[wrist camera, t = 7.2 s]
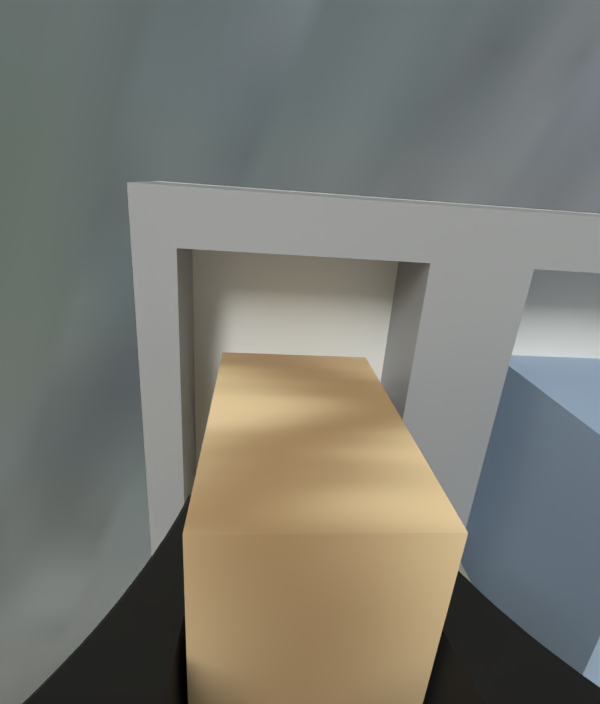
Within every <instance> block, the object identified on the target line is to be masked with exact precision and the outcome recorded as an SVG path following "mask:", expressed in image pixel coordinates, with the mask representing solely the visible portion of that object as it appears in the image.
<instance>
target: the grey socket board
mask: <svg viewBox="0 0 600 704" xmlns="http://www.w3.org/2000/svg"><path fill="white" fill-rule="evenodd" d="M127 189H128V205H129V220H130V235H131V250H132V265H133V280H134V295H135V310H136V326H137V341H138V356H139V371H140V386H141V401H142V416H143V431H144V447H145V462H146V477H147V492H148V507H149V522H150V537H151V552H152V555H153V554H154V552H155V551H156V549H157V548H158V546H159V545H160V543H161V542H162V540H163V539H164V537H165V536H166V534H167V533H168V531H169V529H170V528H171V526H172V525H173V523H174V521H175V520H176V518H177V516H178V514H179V513H180V511H181V509H182V507H183V505H184V503H185V501H186V499H187V497H188V496H189V495H190V494H191V493H192V489H193V485H194V480H195V476H196V471H197V467H198V462H199V458H200V453H201V448H202V444H203V439H204V435H205V430H206V426H207V421H208V417H209V412H210V408H211V403H212V398H213V394H214V389H215V385H216V380H217V376H218V371H219V367H220V362H221V357H222V353H223V352H230V353H257V354H285V355H313V356H341V357H366V359H367V361H368V362H369V364H370V366H371V367H372V369H373V371H374V373H375V374H376V376H377V378H378V379H379V381H380V383H381V385H382V386H383V388H384V390H385V391H386V393H387V395H388V397H389V398H390V400H391V402H392V403H393V405H394V407H395V409H396V410H397V412H398V414H399V415H400V417H401V419H402V420H403V422H404V424H405V426H406V427H407V429H408V431H409V432H410V434H411V436H412V438H413V439H414V441H415V443H416V444H417V446H418V448H419V450H420V451H421V453H422V455H423V456H424V458H425V460H426V462H427V463H428V465H429V467H430V468H431V470H432V472H433V473H434V475H435V477H436V479H437V480H438V482H439V484H440V485H441V487H442V489H443V491H444V492H445V494H446V496H447V497H448V499H449V501H450V503H451V504H452V506H453V508H454V509H455V511H456V513H457V515H458V516H459V518H460V520H461V521H462V523H463V525H464V526H465V528H466V526H467V522H468V518H469V514H470V511H471V507H472V503H473V499H474V495H475V492H476V488H477V484H478V480H479V477H480V473H481V469H482V465H483V461H484V458H485V454H486V450H487V446H488V442H489V439H490V435H491V431H492V427H493V423H494V420H495V416H496V412H497V408H498V405H499V401H500V397H501V393H502V389H503V386H504V382H505V378H506V374H507V370H508V367H509V363H510V359H511V355H518V356H544V357H571V358H598V359H600V214H597V213H584V212H570V211H557V210H543V209H530V208H516V207H503V206H489V205H476V204H462V203H449V202H435V201H422V200H408V199H395V198H381V197H368V196H354V195H340V194H327V193H313V192H300V191H286V190H273V189H259V188H246V187H232V186H219V185H205V184H192V183H178V182H165V181H150V182H127ZM458 571H459V572H460V573H461V574H462V575H463V576H465V577H466V578H467V579H468V580H469V581H470V579H469V577H468V575H467V574H466V572H465V570H464V568H463V566H462V564H461V562H460V566H459V569H458ZM470 582H471V581H470Z"/></svg>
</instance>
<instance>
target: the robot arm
mask: <svg viewBox="0 0 600 704" xmlns="http://www.w3.org/2000/svg"><path fill="white" fill-rule="evenodd" d="M191 494H192V493H191ZM191 494H190V495H189V496H188V497H187V499H186V501H185V503H184V505H183V507H182V509H181V511H180V513H179V514H178V516H177V518H176V520H175V521H174V523H173V525H172V526H171V528H170V529H169V531H168V533H167V534H166V536H165V537H164V539H163V540H162V542H161V543H160V545H159V546H158V548H157V549H156V551H155V552H154V554H153V555H152V557H151V558H150V560H149V561H148V562H147V564H146V565H145V567H144V568H143V569H142V571H141V572H140V573H139V575H138V576H137V577H136V579H135V580H134V581H133V583H132V584H131V585H130V586H129V588H128V589H127V590H126V592H125V593H124V594H123V596H122V597H121V598H120V599H119V601H118V602H117V603H116V604H115V606H114V607H113V608H112V609H111V610H110V612H109V613H108V614H107V615H106V616H105V618H104V619H103V620H102V621H101V622H100V623H99V625H98V626H97V627H96V628H95V629H94V630H93V631H92V632H91V634H90V635H89V636H88V637H87V638H86V639H85V640H84V641H83V643H82V644H81V645H80V646H79V647H78V648H77V649H76V650H75V651H74V652H73V653H72V654H71V655H70V656H69V657H68V658H67V659H66V661H65V662H64V663H63V664H62V665H61V666H60V667H59V668H58V669H57V670H56V671H55V672H54V673H53V674H52V675H51V676H50V677H49V678H48V679H47V680H46V681H45V682H44V683H43V684H42V685H41V686H40V687H39V688H38V689H37V690H36V691H35V692H34V693H33V694H32V695H31V696H30V697H29V698H28V699H27V700H26V701H25V702H23V703H22V704H188V691H187V659H186V627H185V596H184V564H183V530H184V526H185V521H186V517H187V512H188V508H189V503H190V498H191ZM423 704H600V687H599V686H597V685H596V684H594V683H593V682H592V681H590V680H589V679H587V678H586V677H584V676H583V675H582V674H580V673H579V672H578V671H576V670H575V669H574V668H572V667H571V666H570V665H568V664H567V663H566V662H564V661H563V660H562V659H560V658H559V657H558V656H556V655H555V654H554V653H552V652H551V651H550V650H548V649H547V648H546V647H544V646H543V645H542V644H541V643H539V642H538V641H537V640H536V639H534V638H533V637H532V636H531V635H529V634H528V633H527V632H526V631H524V630H523V629H522V628H521V627H520V626H519V625H517V624H516V623H515V622H514V621H513V620H512V619H510V618H509V617H508V616H507V615H506V614H505V613H503V612H502V611H501V610H500V609H499V608H497V607H496V606H495V605H494V604H493V603H492V602H491V601H490V600H489V599H488V598H486V597H485V596H484V595H483V594H482V593H481V592H480V591H479V590H478V589H477V588H476V587H475V586H474V585H473V584H472V583H471V582H470V581H469V580H468V579H467V578H466V577H465V576H463V575H462V574H461V573H460V572H459V571H458V573H457V577H456V581H455V584H454V588H453V592H452V596H451V599H450V603H449V607H448V611H447V614H446V618H445V622H444V626H443V629H442V633H441V637H440V641H439V644H438V648H437V652H436V656H435V659H434V663H433V667H432V671H431V675H430V678H429V682H428V686H427V690H426V693H425V697H424V701H423Z"/></svg>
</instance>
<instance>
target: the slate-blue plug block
mask: <svg viewBox="0 0 600 704" xmlns="http://www.w3.org/2000/svg"><path fill="white" fill-rule="evenodd" d="M466 530H467V532H468V536H467V539H466V543H465V547H464V551H463V554H462V558H461V564H462V566H463V568H464V570H465V572H466V574H467V575H468V577H469V579H470V581H471V583H472V584H473V585H474V586H475V587H476V588H477V589H478V590H479V591H480V592H481V593H482V594H483V595H484V596H485V597H486V598H488V599H489V600H490V601H491V602H492V603H493V604H494V605H495V606H496V607H497V608H499V609H500V610H501V611H502V612H503V613H505V614H506V615H507V616H508V617H509V618H510V619H512V620H513V621H514V622H515V623H516V624H517V625H519V626H520V627H521V628H522V629H523V630H524V631H526V632H527V633H528V634H529V635H531V636H532V637H533V638H534V639H536V640H537V641H538V642H539V643H541V644H542V645H543V646H544V647H546V648H547V649H548V650H550V651H551V652H552V653H554V654H555V655H556V656H558V657H559V658H560V659H562V660H563V661H564V662H566V663H567V664H568V665H570V666H571V667H572V668H574V669H575V670H576V671H578V672H579V673H580V674H582V675H583V676H584V677H586V678H587V679H589V680H590V681H592V682H593V683H594V684H596V685H597V686H599V687H600V359H598V358H571V357H544V356H518V355H511V359H510V363H509V367H508V370H507V374H506V378H505V382H504V386H503V389H502V393H501V397H500V401H499V405H498V408H497V412H496V416H495V420H494V423H493V427H492V431H491V435H490V439H489V442H488V446H487V450H486V454H485V458H484V461H483V465H482V469H481V473H480V477H479V480H478V484H477V488H476V492H475V495H474V499H473V503H472V507H471V511H470V514H469V518H468V522H467V526H466Z"/></svg>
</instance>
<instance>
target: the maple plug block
mask: <svg viewBox="0 0 600 704" xmlns="http://www.w3.org/2000/svg"><path fill="white" fill-rule="evenodd" d="M467 536H468V532H467V530H466V528H465V526H464V525H463V523H462V521H461V520H460V518H459V516H458V515H457V513H456V511H455V509H454V508H453V506H452V504H451V503H450V501H449V499H448V497H447V496H446V494H445V492H444V491H443V489H442V487H441V485H440V484H439V482H438V480H437V479H436V477H435V475H434V473H433V472H432V470H431V468H430V467H429V465H428V463H427V462H426V460H425V458H424V456H423V455H422V453H421V451H420V450H419V448H418V446H417V444H416V443H415V441H414V439H413V438H412V436H411V434H410V432H409V431H408V429H407V427H406V426H405V424H404V422H403V420H402V419H401V417H400V415H399V414H398V412H397V410H396V409H395V407H394V405H393V403H392V402H391V400H390V398H389V397H388V395H387V393H386V391H385V390H384V388H383V386H382V385H381V383H380V381H379V379H378V378H377V376H376V374H375V373H374V371H373V369H372V367H371V366H370V364H369V362H368V361H367V359H366V357H341V356H313V355H285V354H257V353H230V352H223V353H222V357H221V362H220V367H219V371H218V376H217V380H216V385H215V389H214V394H213V398H212V403H211V408H210V412H209V417H208V421H207V426H206V430H205V435H204V439H203V444H202V448H201V453H200V458H199V462H198V467H197V471H196V476H195V480H194V485H193V489H192V494H191V498H190V503H189V508H188V512H187V517H186V521H185V526H184V530H183V564H184V596H185V627H186V659H187V691H188V704H423V701H424V697H425V693H426V690H427V686H428V682H429V678H430V675H431V671H432V667H433V663H434V659H435V656H436V652H437V648H438V644H439V641H440V637H441V633H442V629H443V626H444V622H445V618H446V614H447V611H448V607H449V603H450V599H451V596H452V592H453V588H454V584H455V581H456V577H457V573H458V569H459V566H460V562H461V558H462V554H463V551H464V547H465V543H466V539H467Z"/></svg>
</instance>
